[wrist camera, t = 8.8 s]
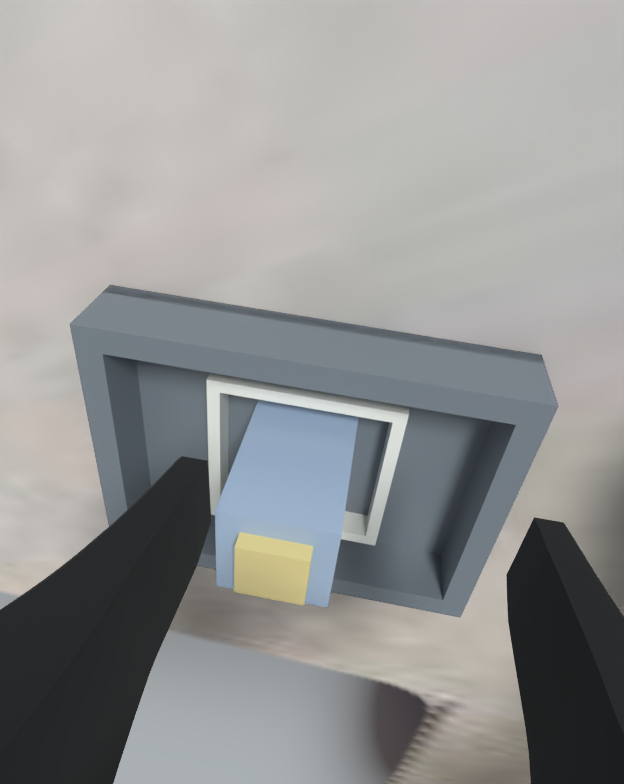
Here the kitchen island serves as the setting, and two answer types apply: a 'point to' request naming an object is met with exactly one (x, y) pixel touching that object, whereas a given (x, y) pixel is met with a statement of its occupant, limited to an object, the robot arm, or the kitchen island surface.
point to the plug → (285, 504)
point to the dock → (327, 393)
